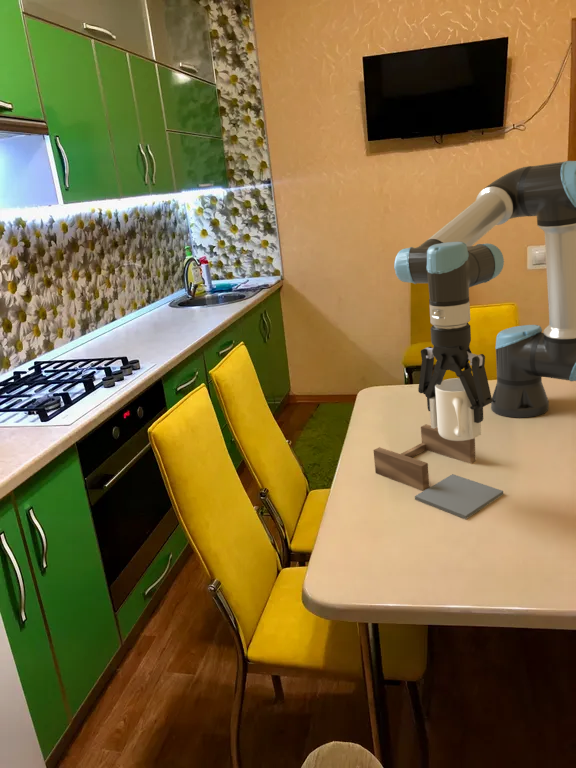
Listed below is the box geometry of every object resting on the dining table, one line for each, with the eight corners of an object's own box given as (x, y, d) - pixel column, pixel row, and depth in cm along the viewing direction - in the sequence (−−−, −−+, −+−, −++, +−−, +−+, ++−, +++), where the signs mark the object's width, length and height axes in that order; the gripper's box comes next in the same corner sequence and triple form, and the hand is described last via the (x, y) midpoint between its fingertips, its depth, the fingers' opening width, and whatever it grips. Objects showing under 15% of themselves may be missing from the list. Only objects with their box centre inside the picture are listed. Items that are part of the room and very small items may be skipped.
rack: (427, 446, 158) (425, 424, 156) (475, 460, 146) (474, 437, 145) (375, 473, 147) (373, 450, 145) (423, 491, 136) (421, 466, 134)
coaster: (452, 477, 140) (452, 474, 140) (503, 494, 130) (503, 490, 130) (415, 499, 133) (414, 496, 132) (465, 519, 123) (465, 515, 122)
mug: (437, 449, 122) (434, 398, 119) (438, 426, 133) (435, 379, 130) (483, 448, 120) (480, 396, 116) (479, 425, 131) (477, 377, 127)
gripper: (395, 323, 126) (403, 425, 133) (486, 334, 110) (490, 450, 116) (419, 315, 130) (425, 414, 137) (511, 324, 114) (513, 437, 120)
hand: (455, 431), depth 127 cm, fingers closed on mug, 9 cm apart
